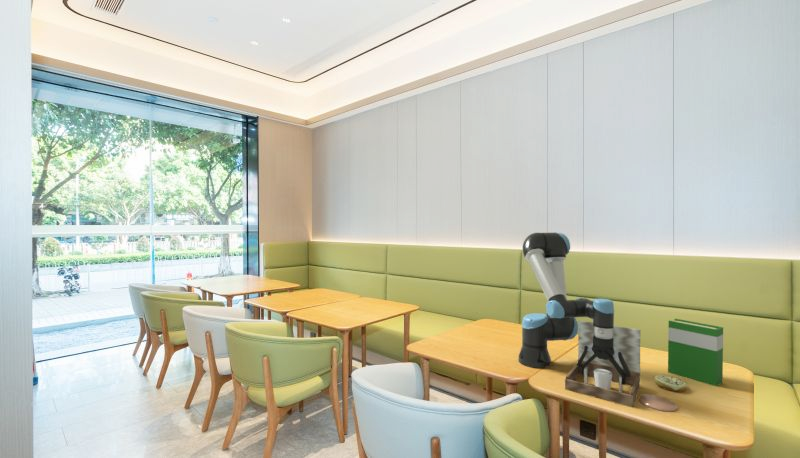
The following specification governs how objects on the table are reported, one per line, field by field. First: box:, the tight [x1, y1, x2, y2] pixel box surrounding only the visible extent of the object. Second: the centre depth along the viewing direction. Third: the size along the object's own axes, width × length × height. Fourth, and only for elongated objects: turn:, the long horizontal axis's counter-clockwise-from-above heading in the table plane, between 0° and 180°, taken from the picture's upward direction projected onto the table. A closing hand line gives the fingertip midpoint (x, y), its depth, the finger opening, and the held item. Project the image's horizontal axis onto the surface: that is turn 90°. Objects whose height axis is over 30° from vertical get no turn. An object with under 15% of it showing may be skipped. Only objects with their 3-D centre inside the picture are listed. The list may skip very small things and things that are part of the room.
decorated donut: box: [654, 374, 687, 392], centre depth 155 cm, size 10×11×4 cm
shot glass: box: [593, 369, 612, 390], centre depth 154 cm, size 7×7×7 cm
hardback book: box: [667, 318, 724, 387], centre depth 165 cm, size 18×7×24 cm, turn 33°
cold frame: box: [564, 320, 641, 408], centre depth 154 cm, size 24×23×24 cm
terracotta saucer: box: [638, 393, 678, 412], centre depth 141 cm, size 12×12×1 cm
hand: (602, 387), depth 154 cm, fingers open, 12 cm apart
